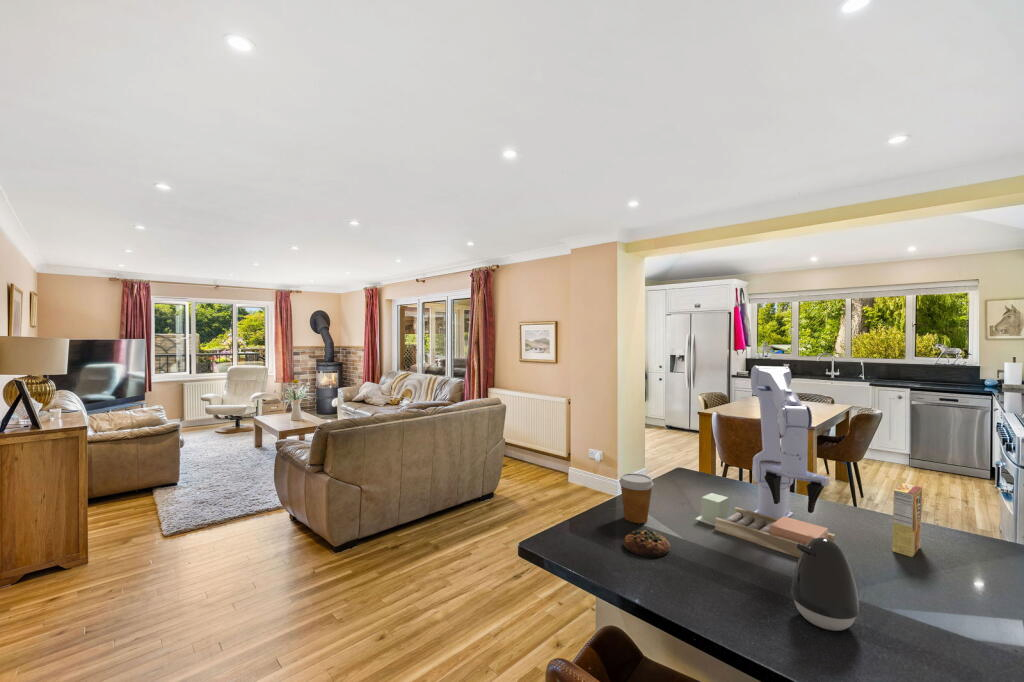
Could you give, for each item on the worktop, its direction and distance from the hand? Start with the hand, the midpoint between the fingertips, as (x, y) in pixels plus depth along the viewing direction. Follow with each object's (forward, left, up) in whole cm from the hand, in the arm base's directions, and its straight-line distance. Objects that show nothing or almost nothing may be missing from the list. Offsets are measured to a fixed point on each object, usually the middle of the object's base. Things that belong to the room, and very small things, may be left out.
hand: (793, 507), depth 114 cm
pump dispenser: (+31, +14, -10) cm, 35 cm away
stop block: (-1, -20, -9) cm, 22 cm away
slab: (0, +1, -7) cm, 7 cm away
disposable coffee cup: (+17, -35, -10) cm, 40 cm away
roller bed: (0, -8, -10) cm, 13 cm away
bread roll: (+30, -23, -10) cm, 39 cm away
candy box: (-19, +19, -10) cm, 29 cm away
